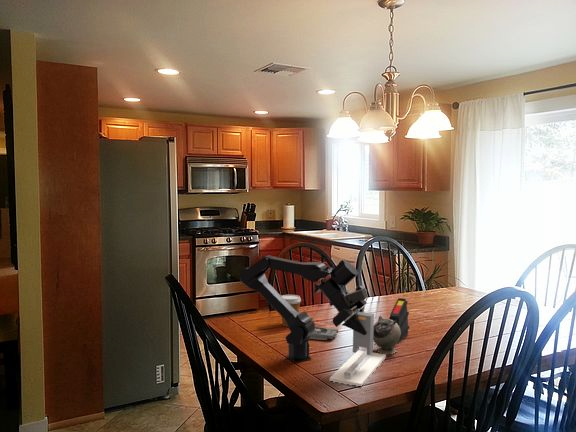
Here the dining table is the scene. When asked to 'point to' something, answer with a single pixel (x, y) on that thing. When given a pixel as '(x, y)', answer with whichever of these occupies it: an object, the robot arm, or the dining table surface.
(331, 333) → the graphics card
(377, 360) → the mounting board
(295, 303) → the disposable coffee cup
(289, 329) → the robot arm
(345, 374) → the metal rail
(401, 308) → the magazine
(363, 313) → the module
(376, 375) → the dining table surface
